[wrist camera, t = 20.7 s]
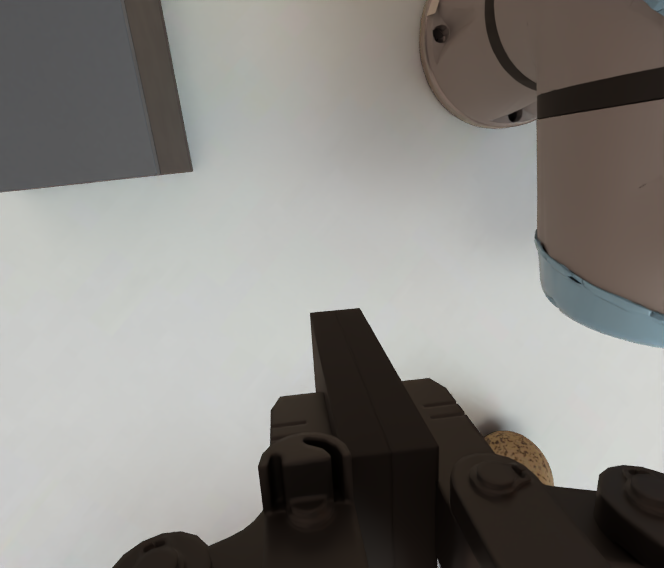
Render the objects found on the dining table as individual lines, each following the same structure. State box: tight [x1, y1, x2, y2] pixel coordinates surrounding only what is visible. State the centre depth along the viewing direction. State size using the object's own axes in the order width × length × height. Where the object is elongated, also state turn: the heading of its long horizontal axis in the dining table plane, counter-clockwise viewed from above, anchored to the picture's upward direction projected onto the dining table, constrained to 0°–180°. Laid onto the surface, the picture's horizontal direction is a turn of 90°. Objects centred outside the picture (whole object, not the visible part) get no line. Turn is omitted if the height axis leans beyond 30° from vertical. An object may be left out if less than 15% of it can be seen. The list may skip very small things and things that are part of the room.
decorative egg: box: [484, 431, 554, 486], centre depth 45 cm, size 7×7×10 cm
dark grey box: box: [5, 0, 193, 192], centre depth 30 cm, size 17×15×11 cm
